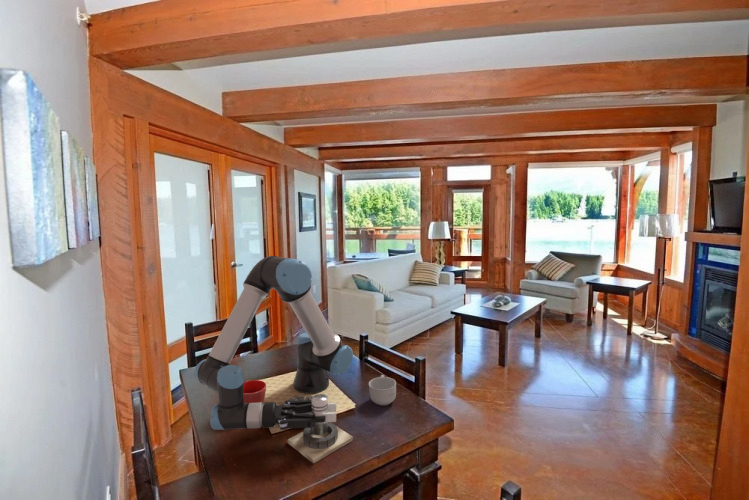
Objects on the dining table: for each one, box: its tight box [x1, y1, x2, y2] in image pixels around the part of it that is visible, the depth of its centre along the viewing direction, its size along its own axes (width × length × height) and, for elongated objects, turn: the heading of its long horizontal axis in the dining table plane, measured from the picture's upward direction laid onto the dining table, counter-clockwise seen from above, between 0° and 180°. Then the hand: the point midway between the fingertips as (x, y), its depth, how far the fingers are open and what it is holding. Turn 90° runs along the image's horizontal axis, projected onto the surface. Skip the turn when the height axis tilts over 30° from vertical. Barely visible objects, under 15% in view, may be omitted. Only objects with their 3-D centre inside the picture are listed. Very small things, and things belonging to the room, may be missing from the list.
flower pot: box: [244, 379, 267, 404], centre depth 139 cm, size 11×11×10 cm
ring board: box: [287, 422, 354, 464], centre depth 122 cm, size 14×16×4 cm
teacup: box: [368, 374, 397, 406], centre depth 149 cm, size 14×11×8 cm
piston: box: [312, 393, 329, 435], centre depth 121 cm, size 5×5×11 cm
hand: (336, 412), depth 121 cm, fingers closed on piston, 5 cm apart
